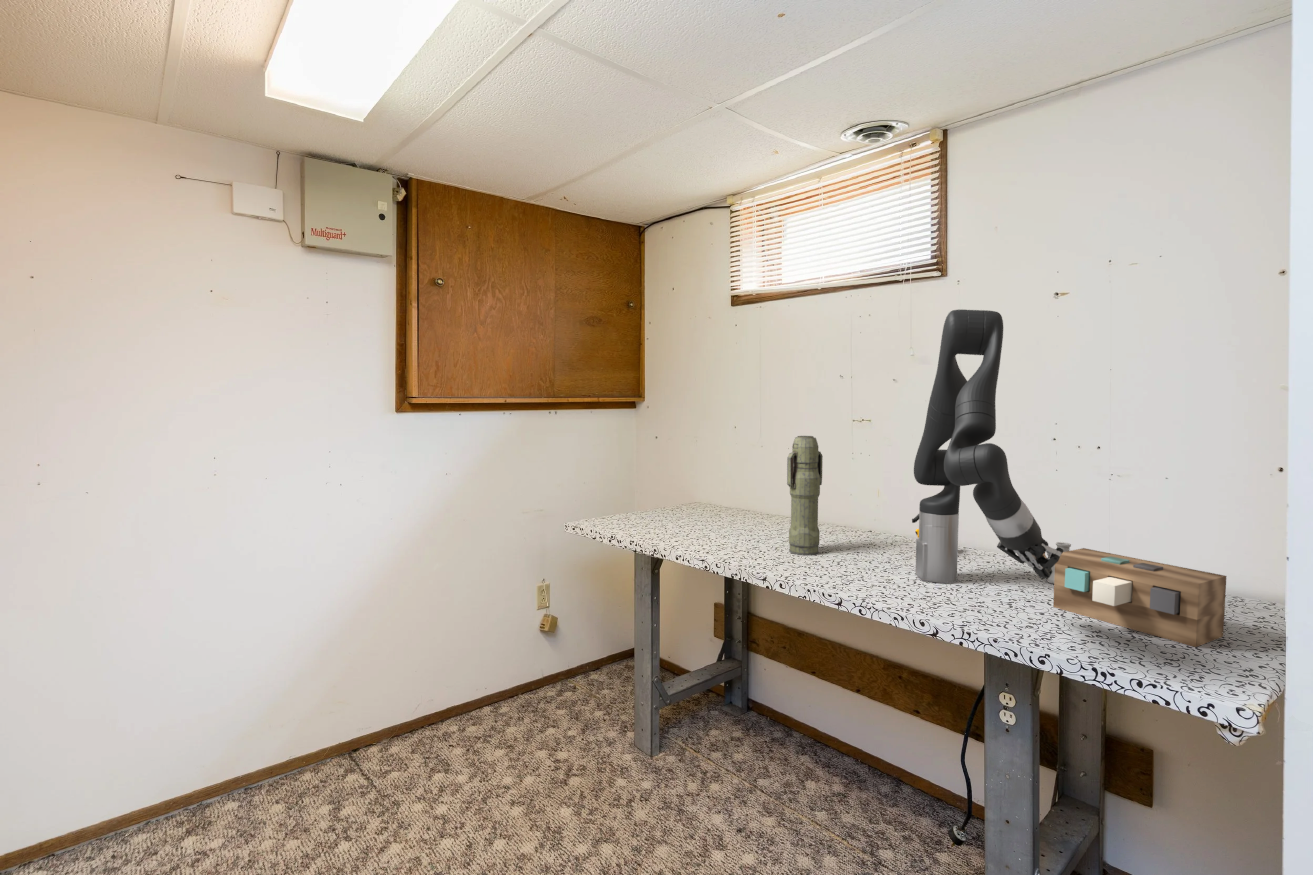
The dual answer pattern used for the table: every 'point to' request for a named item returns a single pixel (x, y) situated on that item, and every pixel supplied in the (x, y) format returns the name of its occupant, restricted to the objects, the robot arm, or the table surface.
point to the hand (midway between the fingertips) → (1045, 575)
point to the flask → (1051, 579)
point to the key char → (1165, 600)
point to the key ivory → (1112, 591)
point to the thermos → (804, 495)
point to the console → (1147, 596)
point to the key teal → (1077, 579)
